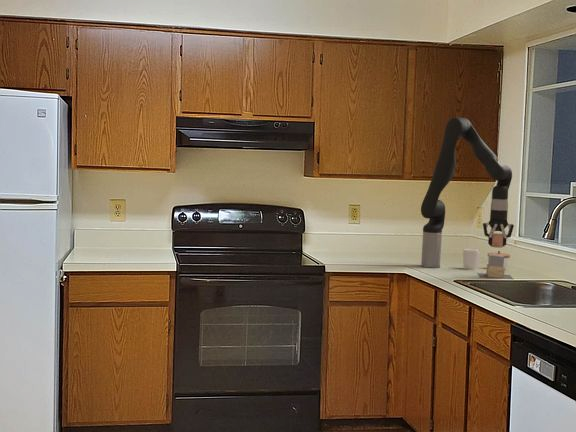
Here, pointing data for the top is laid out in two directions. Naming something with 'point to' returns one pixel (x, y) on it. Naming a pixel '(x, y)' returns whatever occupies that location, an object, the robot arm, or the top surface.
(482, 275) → the charcoal mat
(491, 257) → the grey block
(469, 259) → the white cup
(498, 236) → the terracotta cylinder
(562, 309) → the top surface
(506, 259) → the lidded jar
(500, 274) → the maple block
